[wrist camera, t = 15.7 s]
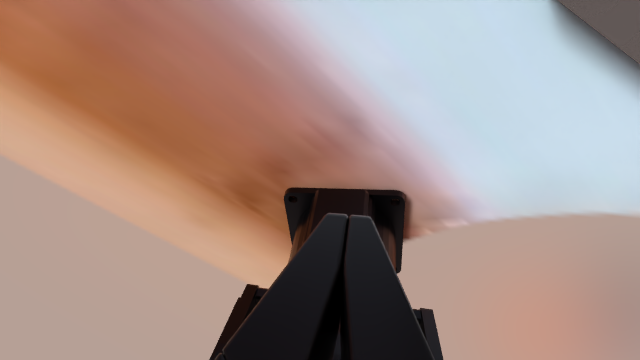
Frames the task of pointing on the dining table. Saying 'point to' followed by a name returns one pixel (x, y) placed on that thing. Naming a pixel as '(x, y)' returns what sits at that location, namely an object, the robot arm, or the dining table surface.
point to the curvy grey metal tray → (612, 21)
